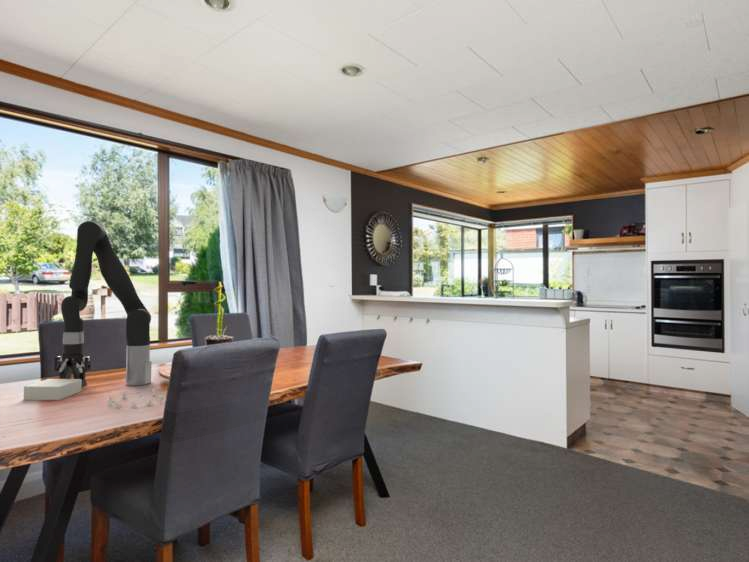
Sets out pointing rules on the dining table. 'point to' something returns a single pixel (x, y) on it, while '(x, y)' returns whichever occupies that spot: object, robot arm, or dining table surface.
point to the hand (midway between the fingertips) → (72, 380)
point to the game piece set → (132, 403)
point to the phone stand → (70, 370)
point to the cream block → (52, 389)
